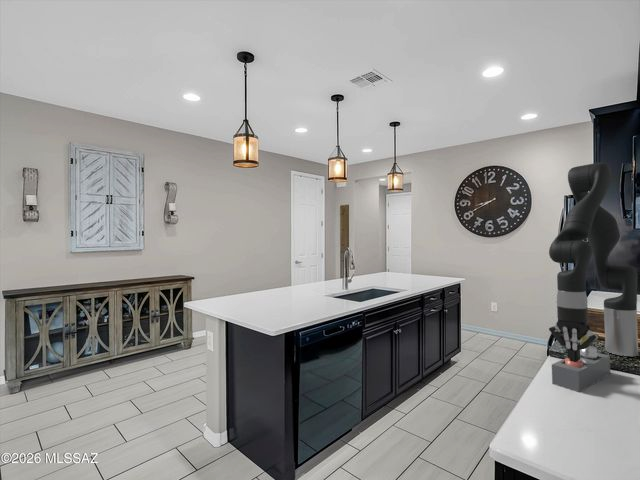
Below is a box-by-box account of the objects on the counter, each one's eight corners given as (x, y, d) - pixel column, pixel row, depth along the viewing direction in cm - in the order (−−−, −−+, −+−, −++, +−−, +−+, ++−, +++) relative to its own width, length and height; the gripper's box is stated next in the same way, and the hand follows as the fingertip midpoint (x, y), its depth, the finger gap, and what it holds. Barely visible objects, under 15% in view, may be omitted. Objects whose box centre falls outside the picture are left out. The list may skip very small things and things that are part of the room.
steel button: (583, 359, 111) (583, 344, 111) (600, 363, 108) (599, 347, 108) (577, 362, 109) (577, 346, 109) (594, 366, 105) (593, 350, 105)
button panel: (584, 367, 114) (584, 349, 114) (610, 374, 108) (609, 355, 108) (552, 383, 103) (551, 364, 103) (578, 392, 97) (578, 371, 97)
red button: (569, 372, 106) (569, 357, 106) (586, 377, 102) (585, 361, 102) (562, 376, 104) (562, 360, 104) (579, 381, 100) (578, 364, 100)
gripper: (603, 306, 99) (605, 364, 99) (554, 300, 111) (556, 352, 111) (592, 310, 96) (594, 370, 96) (542, 303, 107) (544, 357, 107)
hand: (573, 360), depth 103 cm, fingers closed
